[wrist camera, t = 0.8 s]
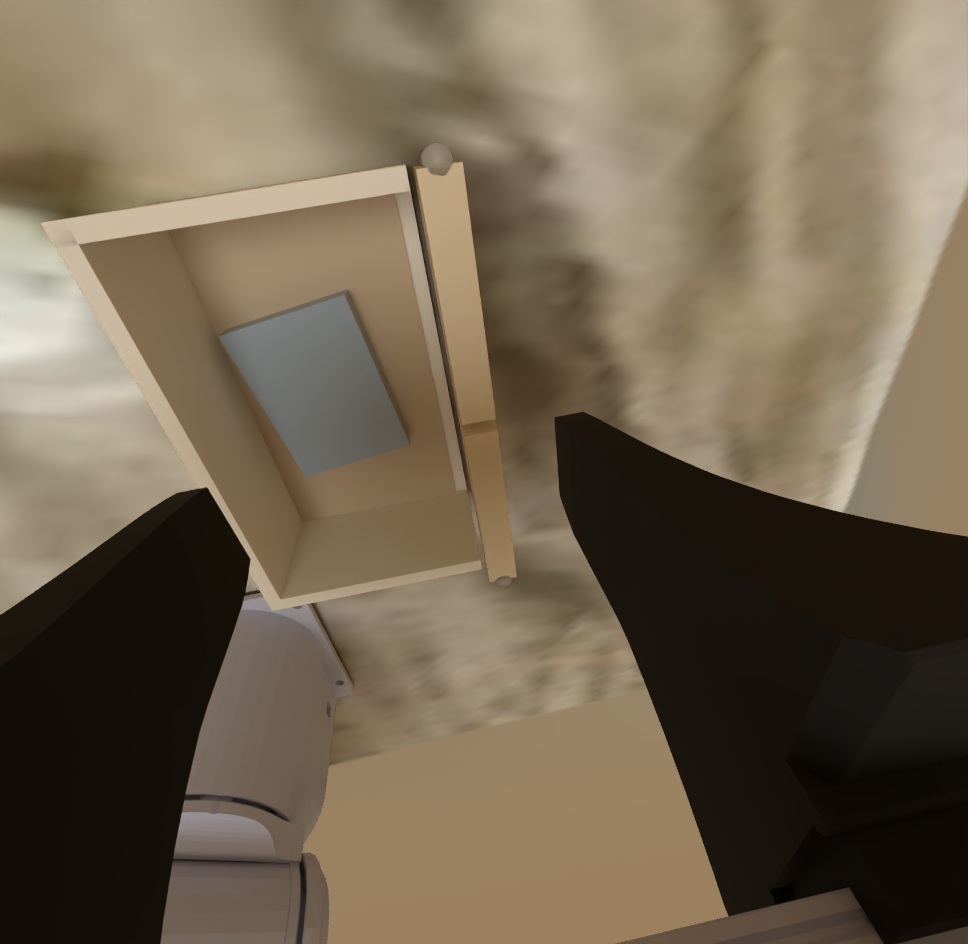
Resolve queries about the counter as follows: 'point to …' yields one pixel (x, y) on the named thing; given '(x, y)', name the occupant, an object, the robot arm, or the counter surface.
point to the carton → (234, 407)
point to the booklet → (319, 383)
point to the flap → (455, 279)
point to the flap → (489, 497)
